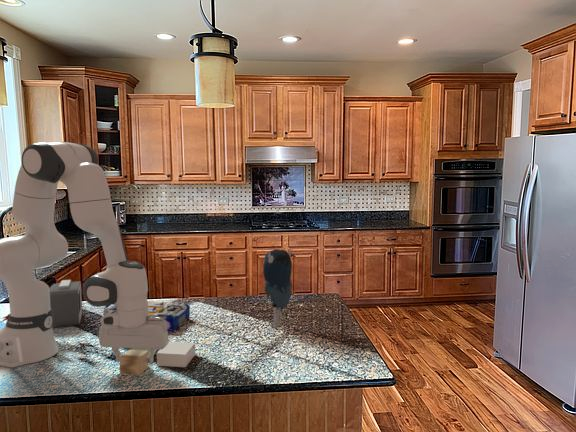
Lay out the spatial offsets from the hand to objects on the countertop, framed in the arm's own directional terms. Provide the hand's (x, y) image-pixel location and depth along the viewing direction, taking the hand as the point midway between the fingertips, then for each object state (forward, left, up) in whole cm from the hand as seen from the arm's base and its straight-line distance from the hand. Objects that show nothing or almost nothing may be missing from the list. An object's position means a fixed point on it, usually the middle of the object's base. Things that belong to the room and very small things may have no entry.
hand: (135, 361), depth 128 cm
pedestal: (+10, +8, -3) cm, 13 cm away
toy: (+38, +41, -3) cm, 56 cm away
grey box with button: (-46, +36, -3) cm, 59 cm away
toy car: (-14, +39, -3) cm, 42 cm away
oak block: (0, 0, -3) cm, 3 cm away
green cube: (-2, +10, -3) cm, 11 cm away
